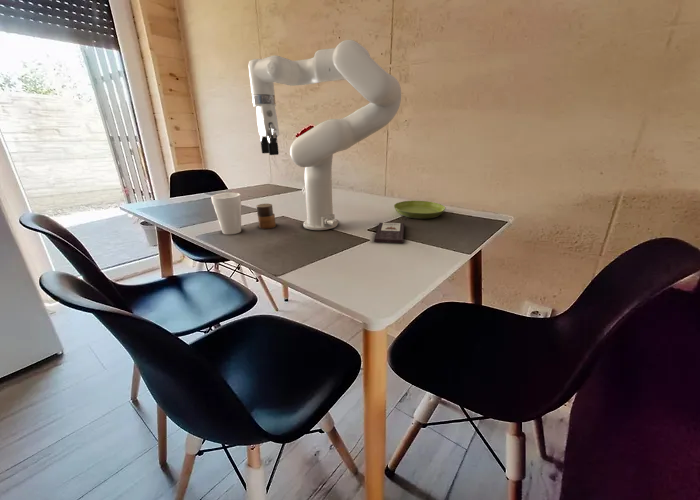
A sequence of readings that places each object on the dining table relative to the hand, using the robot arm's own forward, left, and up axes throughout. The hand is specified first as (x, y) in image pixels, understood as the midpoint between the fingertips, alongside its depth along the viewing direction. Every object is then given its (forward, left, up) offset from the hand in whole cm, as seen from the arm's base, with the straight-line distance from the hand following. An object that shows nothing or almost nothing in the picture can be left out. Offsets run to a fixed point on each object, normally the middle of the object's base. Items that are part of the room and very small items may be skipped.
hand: (270, 154), depth 113 cm
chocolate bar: (-42, -18, -25) cm, 52 cm away
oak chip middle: (-3, +6, -23) cm, 24 cm away
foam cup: (+1, +18, -26) cm, 31 cm away
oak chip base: (-3, +6, -25) cm, 26 cm away
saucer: (-35, -46, -26) cm, 63 cm away
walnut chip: (-3, +6, -21) cm, 22 cm away
